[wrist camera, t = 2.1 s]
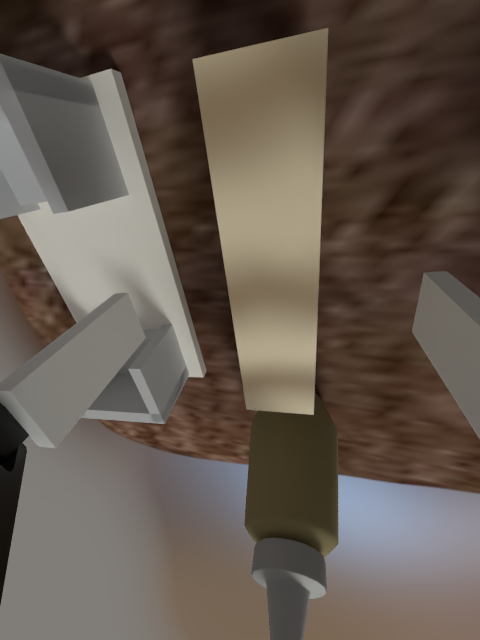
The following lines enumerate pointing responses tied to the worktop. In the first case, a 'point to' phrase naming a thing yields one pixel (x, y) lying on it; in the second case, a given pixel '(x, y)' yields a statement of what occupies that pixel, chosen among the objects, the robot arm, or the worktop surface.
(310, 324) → the rail
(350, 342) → the worktop surface
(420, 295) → the robot arm
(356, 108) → the worktop surface
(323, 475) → the squeeze bottle
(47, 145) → the bracket board
